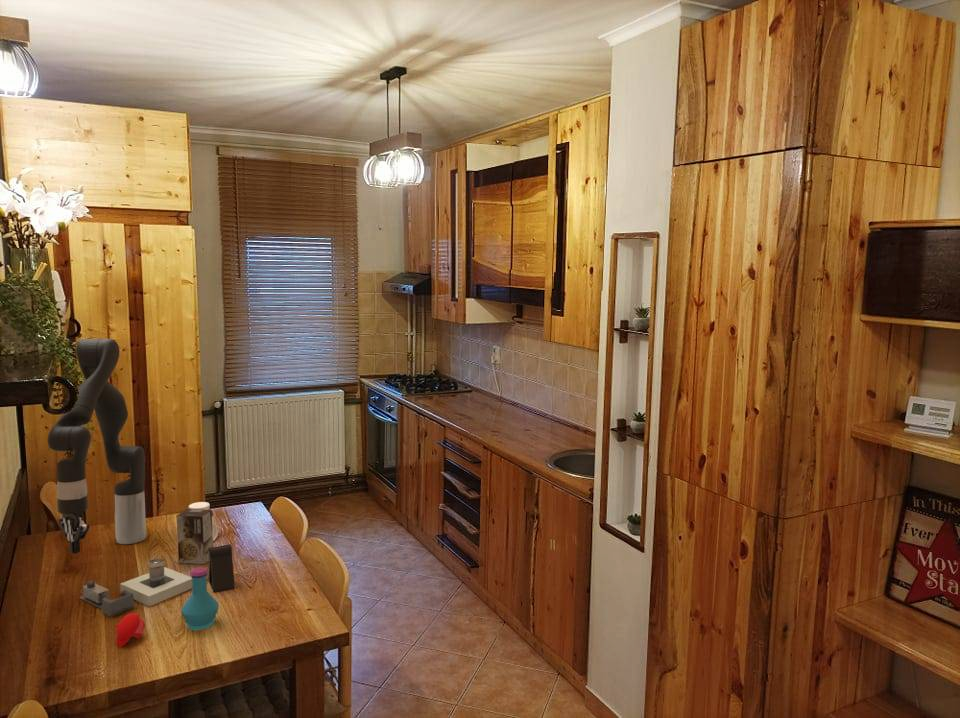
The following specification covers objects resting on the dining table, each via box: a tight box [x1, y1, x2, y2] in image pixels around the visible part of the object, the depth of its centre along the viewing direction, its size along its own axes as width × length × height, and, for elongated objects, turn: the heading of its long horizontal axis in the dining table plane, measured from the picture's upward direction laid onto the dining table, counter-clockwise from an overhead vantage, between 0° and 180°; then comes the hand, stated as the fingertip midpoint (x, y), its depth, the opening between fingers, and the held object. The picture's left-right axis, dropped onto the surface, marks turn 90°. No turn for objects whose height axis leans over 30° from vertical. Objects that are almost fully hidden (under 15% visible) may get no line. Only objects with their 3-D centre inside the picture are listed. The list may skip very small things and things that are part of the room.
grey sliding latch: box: [78, 590, 135, 618], centre depth 193 cm, size 18×7×4 cm, turn 58°
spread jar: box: [188, 501, 219, 541], centre depth 241 cm, size 12×11×12 cm
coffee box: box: [175, 508, 214, 565], centre depth 223 cm, size 9×6×16 cm
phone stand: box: [207, 544, 236, 593], centre depth 206 cm, size 9×6×12 cm, turn 30°
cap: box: [115, 612, 146, 648], centre depth 174 cm, size 8×6×6 cm
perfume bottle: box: [181, 566, 220, 631], centre depth 182 cm, size 9×9×15 cm
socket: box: [119, 566, 192, 607], centre depth 201 cm, size 14×14×3 cm
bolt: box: [82, 579, 110, 604], centre depth 195 cm, size 8×3×4 cm, turn 58°
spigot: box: [147, 557, 166, 588], centre depth 201 cm, size 5×5×9 cm
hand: (75, 552), depth 199 cm, fingers closed
